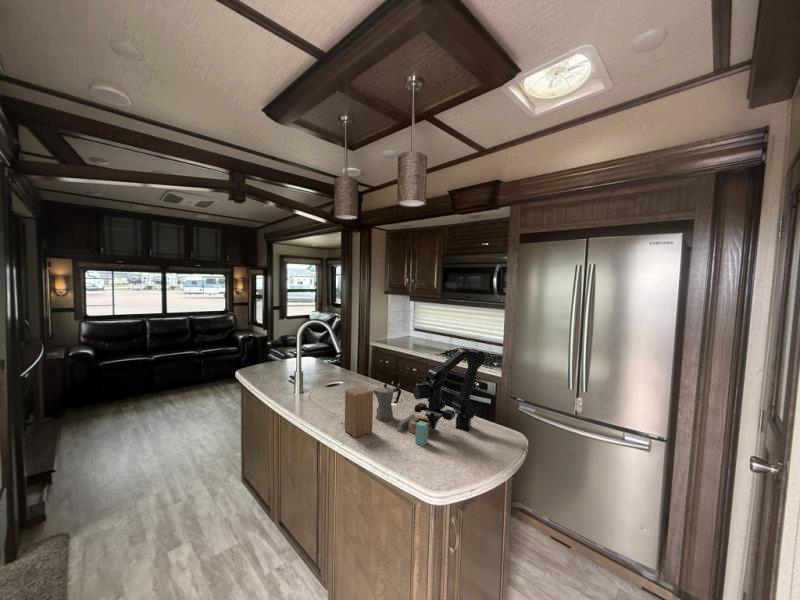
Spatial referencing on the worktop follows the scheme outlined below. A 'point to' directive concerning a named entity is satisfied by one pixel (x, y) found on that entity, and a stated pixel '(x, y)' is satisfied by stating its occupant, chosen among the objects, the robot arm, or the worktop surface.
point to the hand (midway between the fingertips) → (433, 429)
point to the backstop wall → (405, 423)
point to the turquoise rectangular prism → (421, 433)
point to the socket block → (413, 422)
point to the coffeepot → (385, 402)
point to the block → (358, 411)
